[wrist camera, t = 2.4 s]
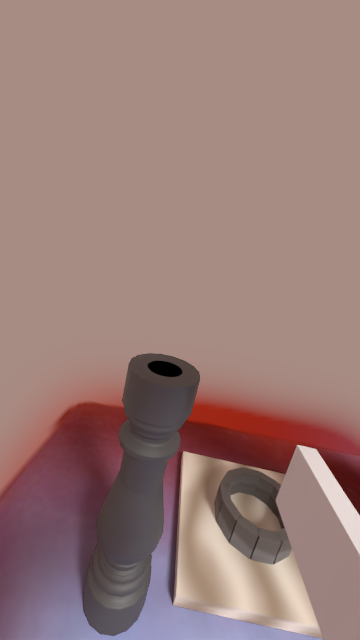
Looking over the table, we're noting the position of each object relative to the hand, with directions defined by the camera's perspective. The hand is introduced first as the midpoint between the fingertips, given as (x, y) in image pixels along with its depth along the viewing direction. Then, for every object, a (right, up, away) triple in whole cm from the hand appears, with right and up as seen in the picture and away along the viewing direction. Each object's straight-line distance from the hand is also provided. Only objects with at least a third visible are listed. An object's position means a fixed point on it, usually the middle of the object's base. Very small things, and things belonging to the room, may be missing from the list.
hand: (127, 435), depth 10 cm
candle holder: (-5, -23, +16) cm, 29 cm away
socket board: (+12, -24, +26) cm, 37 cm away
